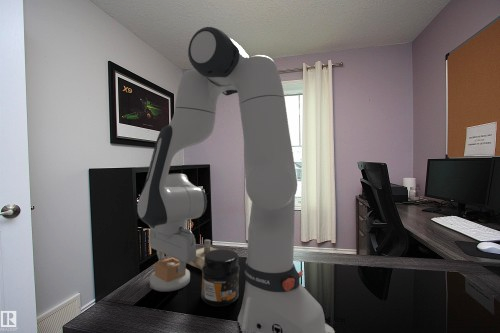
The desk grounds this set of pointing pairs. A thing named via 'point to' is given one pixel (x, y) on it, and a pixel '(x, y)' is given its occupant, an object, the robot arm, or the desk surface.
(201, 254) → the stand
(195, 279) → the desk surface
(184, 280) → the hub
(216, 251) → the supplement container
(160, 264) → the orange square hollow block
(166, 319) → the desk surface
